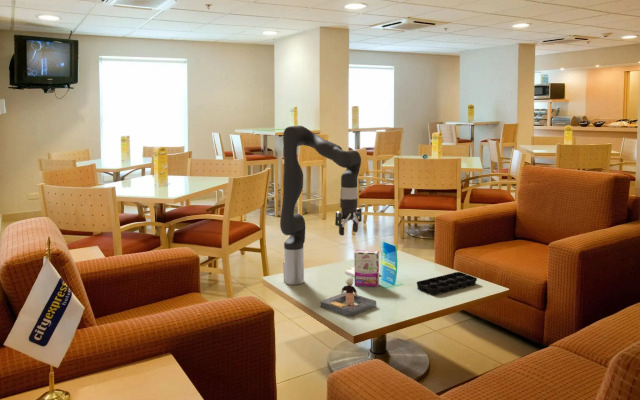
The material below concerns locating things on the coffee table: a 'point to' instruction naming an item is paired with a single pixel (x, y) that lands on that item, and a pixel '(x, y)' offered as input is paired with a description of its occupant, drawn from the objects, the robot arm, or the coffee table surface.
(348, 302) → the grandmother figurine
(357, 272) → the candy bar box
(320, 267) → the coffee table surface
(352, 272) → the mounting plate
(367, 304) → the holder board
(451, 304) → the coffee table surface
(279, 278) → the coffee table surface
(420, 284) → the egg carton
